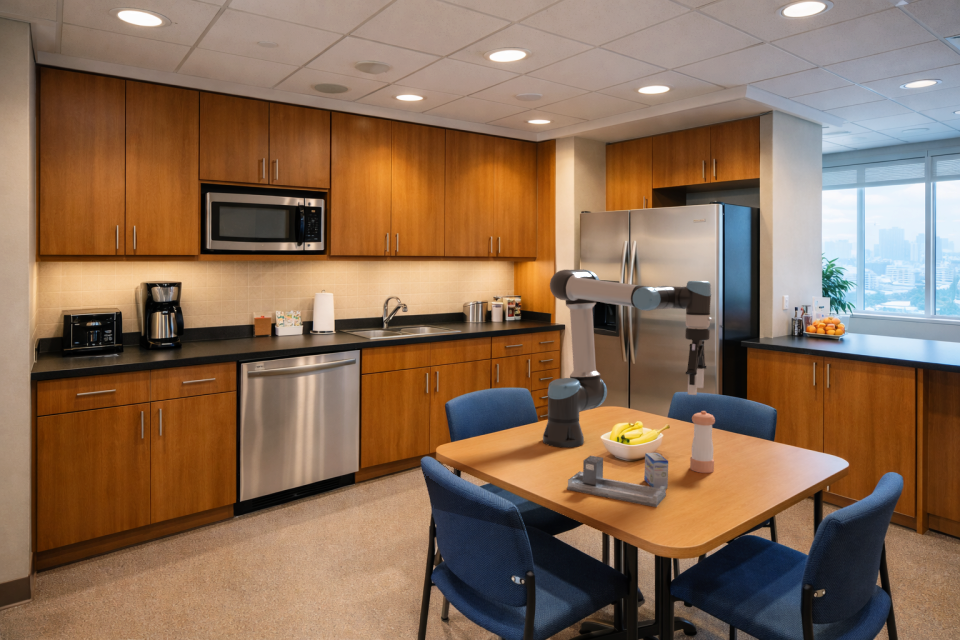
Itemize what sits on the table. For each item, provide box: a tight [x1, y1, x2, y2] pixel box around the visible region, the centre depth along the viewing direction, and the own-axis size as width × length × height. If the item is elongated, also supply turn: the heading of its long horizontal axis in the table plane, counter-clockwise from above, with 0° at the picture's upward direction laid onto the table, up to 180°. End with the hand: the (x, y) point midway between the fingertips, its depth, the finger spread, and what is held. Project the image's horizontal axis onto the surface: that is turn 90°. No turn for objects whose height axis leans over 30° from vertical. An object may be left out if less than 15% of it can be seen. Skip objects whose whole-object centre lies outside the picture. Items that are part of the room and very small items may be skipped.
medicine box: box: [643, 452, 669, 490], centre depth 184 cm, size 8×4×9 cm, turn 5°
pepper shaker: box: [689, 410, 716, 474], centre depth 198 cm, size 7×7×19 cm
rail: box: [566, 455, 667, 508], centre depth 177 cm, size 26×10×9 cm, turn 59°
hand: (695, 391), depth 204 cm, fingers open, 13 cm apart
